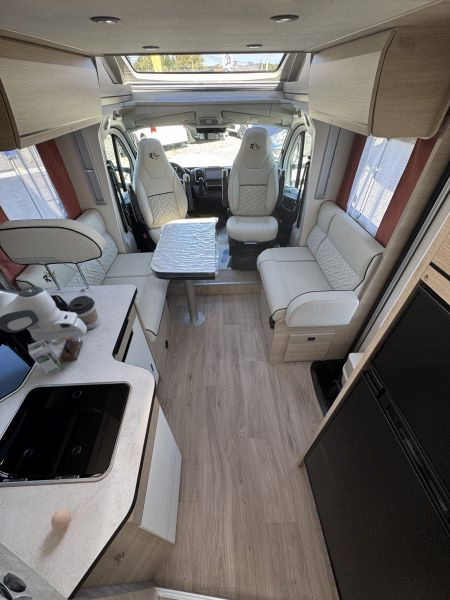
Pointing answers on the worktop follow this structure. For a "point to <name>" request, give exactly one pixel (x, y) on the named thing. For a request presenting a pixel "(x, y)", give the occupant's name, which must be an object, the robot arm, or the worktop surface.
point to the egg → (61, 519)
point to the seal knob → (68, 345)
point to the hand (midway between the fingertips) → (67, 342)
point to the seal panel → (73, 354)
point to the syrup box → (44, 356)
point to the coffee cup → (85, 311)
